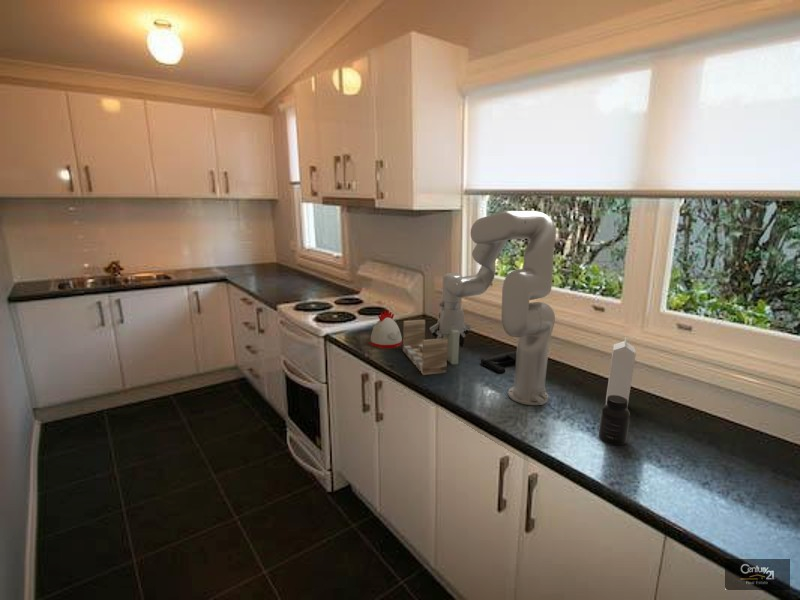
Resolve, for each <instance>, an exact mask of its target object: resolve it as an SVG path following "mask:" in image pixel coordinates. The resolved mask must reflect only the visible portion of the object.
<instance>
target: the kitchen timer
mask: <svg viewBox="0 0 800 600" xmlns="http://www.w3.org/2000/svg"><path fill="white" fill-rule="evenodd" d="M377 316H378V319H379V320H378V321H377V322H376V324H375V325H374V326H373V328H372V332H371V335H370V345H371V344H372V345H373V346H372V345H371V346H372V347H374V346H376V347H375V348H377V347H379V348H378V349H387V348H388V349H395V347H396V348H398V346H399V347H400V346H401V345H403V339H402V338H403V336H402V333H401V331H400V330H401V329H400V328H399V325H398V324H397V322H396V321H395V320H394V316H395V314H394V313H392V311H390V310H388V309H387V310H384V311H380V315H379V314H378V315H377Z"/></svg>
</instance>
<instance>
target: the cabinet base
mask: <svg viewBox="0 0 800 600" xmlns="http://www.w3.org/2000/svg"><path fill="white" fill-rule="evenodd" d="M402 326H403V328H402V329H403V331H402V332H403V333H402V335H403V336H402V338H403V339H402V352H404V354H406V357H408V358H409V360H410V361H411V362H412V363H413V364H414V366H415V365H416V366H415V367H416V368H417V369H418V370H419V372H420V371H421V372H420V373H421V374H422V376H427V375H434V374H435V375H436V374H445V373H447V367H448V366H447V365H448V363H447V362H448V360H447V346H448V339H447V338H441V337H440V338H439V339H436V338H430V339H428V338H427V339H426V319H413V320H403V325H402Z"/></svg>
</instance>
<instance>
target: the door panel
mask: <svg viewBox="0 0 800 600" xmlns="http://www.w3.org/2000/svg"><path fill="white" fill-rule="evenodd" d="M459 335H460V332H459V331H458V330H450V335H442V336H441V337H440V338H447V339H448V346H447V362H449V363H450V364H451V365H458V364H459V355H460V354H459V352H460V351H459V350H460V349H459V348H460V346H459Z"/></svg>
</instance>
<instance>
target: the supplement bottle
mask: <svg viewBox="0 0 800 600" xmlns="http://www.w3.org/2000/svg"><path fill="white" fill-rule="evenodd" d="M627 403H628V404H629V401H627V399H626V398H624V397H621V396H617V395H610V396H608V398H607V404H606V403H605V404H604V405H603V406H602V408H601V412H600V413H601V414H600V422H599V429H598V437H599V439H600V440H601V441H602V442H603V443H605V444H608V445H611V446H616V447H621V446H624V445H625V444H626V443H627V442H628V441H627V440H628V433H629V428H630V427H629V426H630V419H631V412H630V410H629V409H628V407H627Z"/></svg>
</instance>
